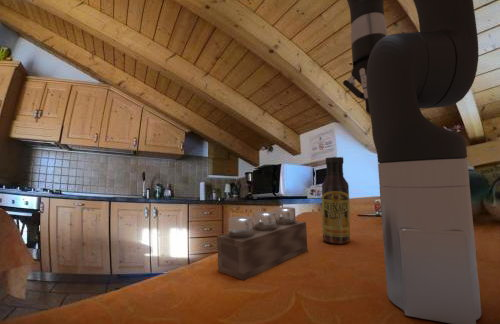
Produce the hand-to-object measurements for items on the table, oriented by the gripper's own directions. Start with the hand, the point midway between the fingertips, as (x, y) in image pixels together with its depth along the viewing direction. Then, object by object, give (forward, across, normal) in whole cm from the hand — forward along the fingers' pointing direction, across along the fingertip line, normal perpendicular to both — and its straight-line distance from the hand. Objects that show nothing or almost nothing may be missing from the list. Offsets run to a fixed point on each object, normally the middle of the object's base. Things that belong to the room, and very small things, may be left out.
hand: (374, 114), depth 57 cm
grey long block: (+29, -14, -23) cm, 40 cm away
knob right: (+27, -14, -17) cm, 35 cm away
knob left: (+27, -14, -30) cm, 43 cm away
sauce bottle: (+29, -9, -4) cm, 31 cm away
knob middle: (+27, -14, -23) cm, 38 cm away
